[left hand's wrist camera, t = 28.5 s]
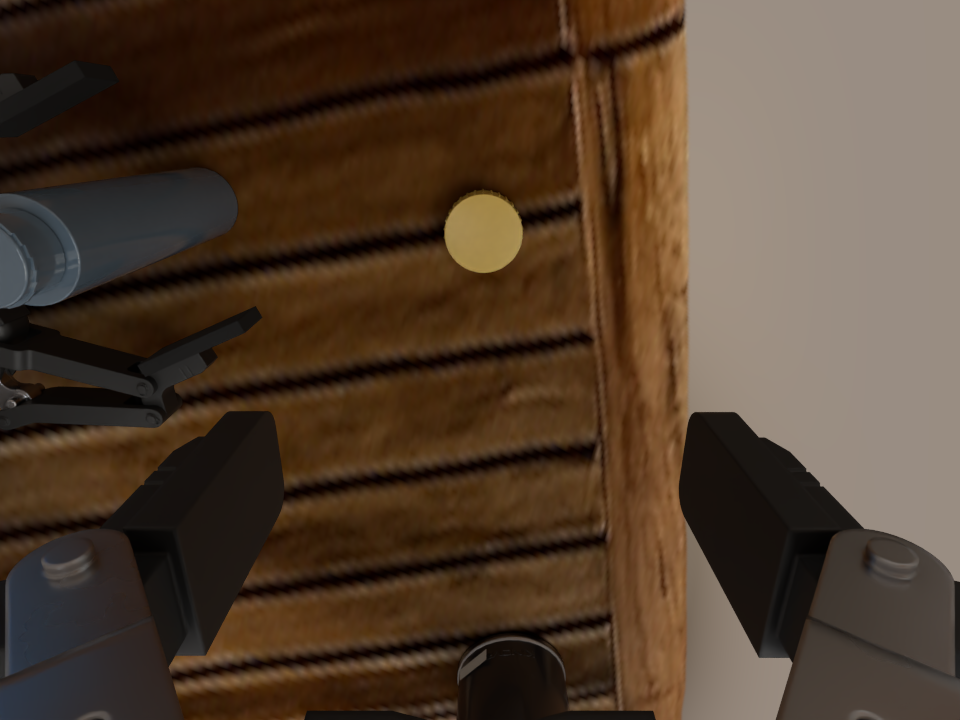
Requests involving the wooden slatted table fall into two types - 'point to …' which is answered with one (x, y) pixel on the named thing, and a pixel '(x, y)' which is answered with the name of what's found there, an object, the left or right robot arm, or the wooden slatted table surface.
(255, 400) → the wooden slatted table surface
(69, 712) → the left robot arm
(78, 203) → the grey bottle
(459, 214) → the lid
